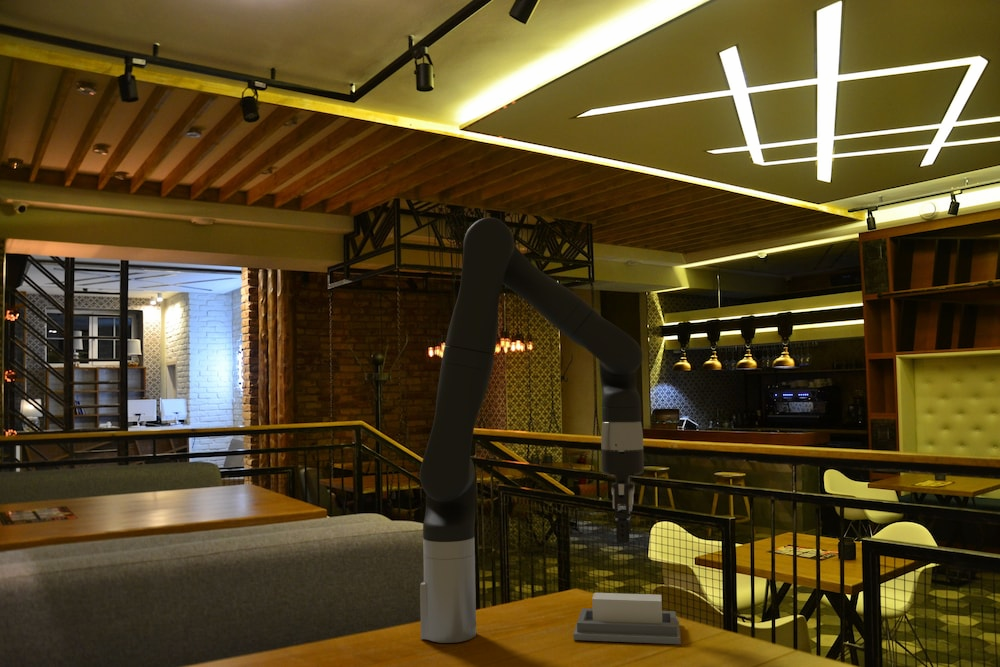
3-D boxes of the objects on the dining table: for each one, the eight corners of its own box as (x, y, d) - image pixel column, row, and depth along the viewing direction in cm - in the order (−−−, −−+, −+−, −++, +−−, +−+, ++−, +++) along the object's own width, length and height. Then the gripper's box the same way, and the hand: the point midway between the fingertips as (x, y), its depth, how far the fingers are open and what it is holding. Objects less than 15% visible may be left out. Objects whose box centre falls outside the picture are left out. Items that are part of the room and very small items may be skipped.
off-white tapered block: (662, 630, 134) (661, 601, 134) (593, 628, 136) (592, 599, 137) (662, 623, 138) (661, 594, 139) (595, 620, 141) (594, 592, 141)
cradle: (680, 644, 130) (680, 628, 130) (573, 639, 133) (573, 624, 133) (678, 623, 141) (678, 609, 142) (580, 620, 145) (580, 606, 145)
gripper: (604, 444, 148) (605, 530, 146) (598, 449, 134) (600, 544, 133) (643, 444, 146) (645, 531, 145) (642, 449, 132) (644, 546, 131)
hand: (624, 537), depth 139 cm, fingers open, 8 cm apart
